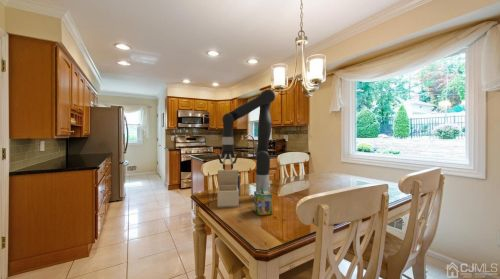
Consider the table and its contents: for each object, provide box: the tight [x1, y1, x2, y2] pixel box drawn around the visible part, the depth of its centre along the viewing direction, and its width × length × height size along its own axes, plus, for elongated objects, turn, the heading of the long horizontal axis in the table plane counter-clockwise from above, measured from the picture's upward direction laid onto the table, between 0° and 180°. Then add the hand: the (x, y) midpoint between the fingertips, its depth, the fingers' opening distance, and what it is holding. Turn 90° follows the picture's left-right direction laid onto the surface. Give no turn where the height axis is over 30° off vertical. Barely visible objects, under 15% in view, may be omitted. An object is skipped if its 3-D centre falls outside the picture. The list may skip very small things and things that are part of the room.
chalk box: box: [253, 186, 273, 216], centre depth 125 cm, size 9×9×15 cm
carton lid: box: [217, 163, 239, 186], centre depth 144 cm, size 13×14×6 cm
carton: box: [217, 184, 240, 209], centre depth 140 cm, size 13×15×10 cm
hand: (227, 169), depth 143 cm, fingers closed on carton lid, 4 cm apart
